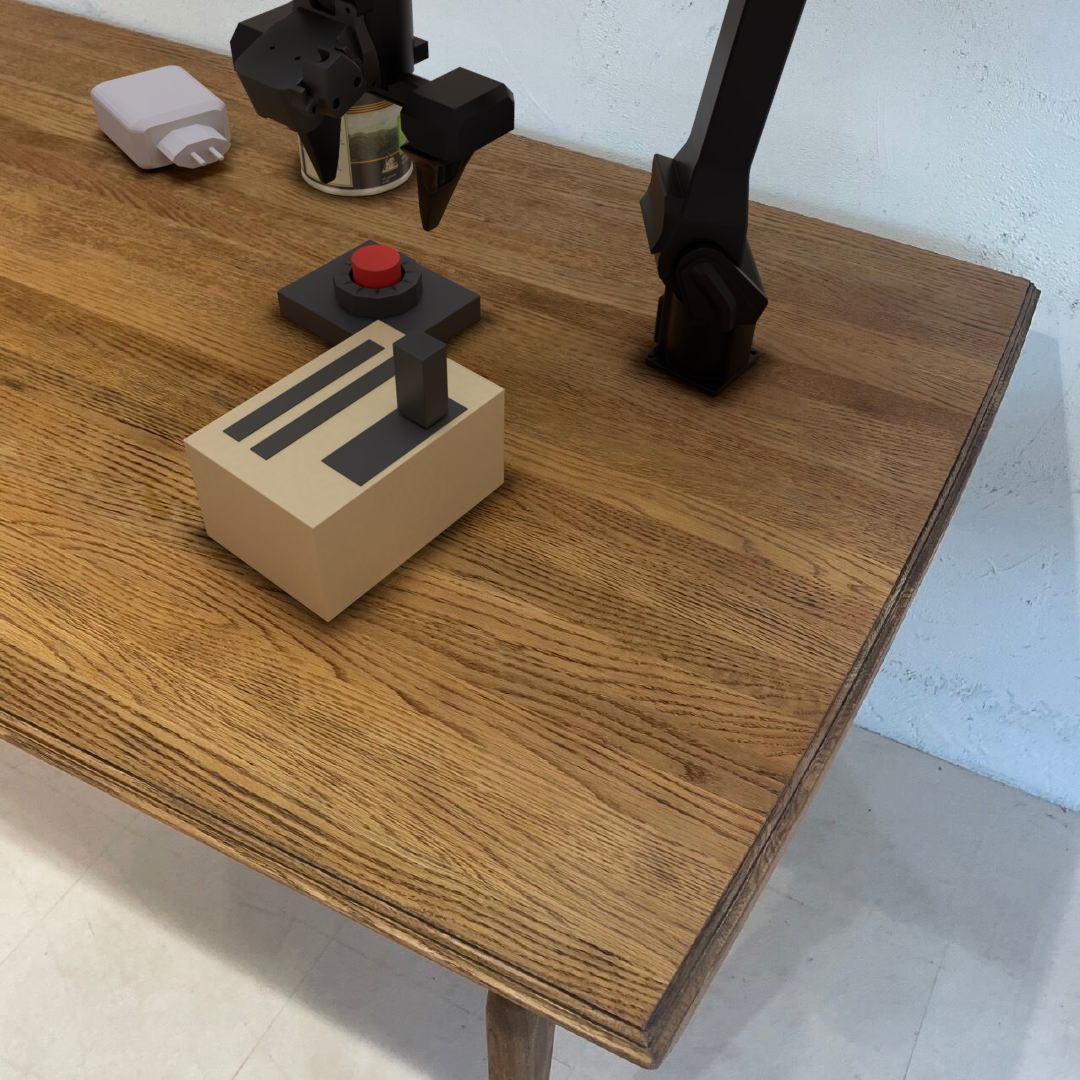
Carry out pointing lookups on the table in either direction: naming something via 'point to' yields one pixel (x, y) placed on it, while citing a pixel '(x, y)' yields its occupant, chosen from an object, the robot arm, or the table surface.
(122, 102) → the charger
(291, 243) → the table surface
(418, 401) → the slider
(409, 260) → the control block
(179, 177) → the table surface
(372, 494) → the toaster
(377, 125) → the coffee can
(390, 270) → the button
